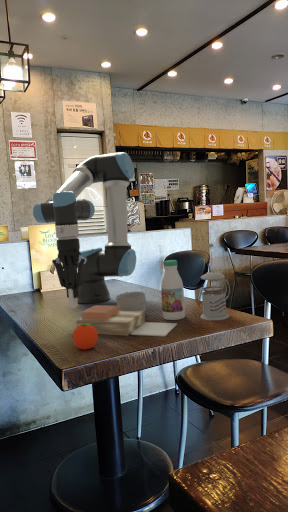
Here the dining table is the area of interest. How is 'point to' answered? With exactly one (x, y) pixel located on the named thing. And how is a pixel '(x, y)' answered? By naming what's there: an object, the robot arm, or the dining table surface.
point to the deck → (117, 323)
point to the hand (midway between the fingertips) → (73, 307)
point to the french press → (214, 297)
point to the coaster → (99, 312)
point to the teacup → (131, 301)
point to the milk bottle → (172, 292)
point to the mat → (154, 329)
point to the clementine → (85, 336)
